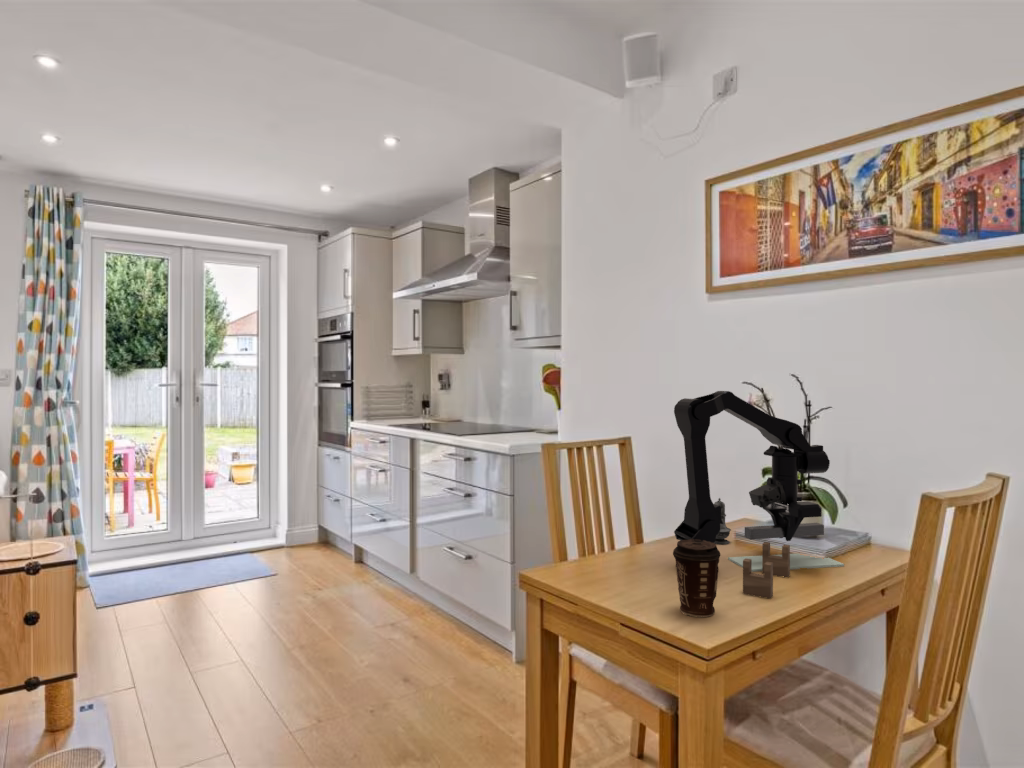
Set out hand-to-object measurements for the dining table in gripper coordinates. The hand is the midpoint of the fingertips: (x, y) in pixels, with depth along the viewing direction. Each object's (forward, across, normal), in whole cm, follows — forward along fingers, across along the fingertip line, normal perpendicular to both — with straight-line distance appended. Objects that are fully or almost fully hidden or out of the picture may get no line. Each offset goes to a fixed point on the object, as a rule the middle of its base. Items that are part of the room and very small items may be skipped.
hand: (784, 539), depth 150 cm
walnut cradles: (+6, +13, -14) cm, 19 cm away
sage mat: (+6, 0, 0) cm, 6 cm away
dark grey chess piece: (+6, -21, -4) cm, 22 cm away
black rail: (-1, 0, 0) cm, 1 cm away
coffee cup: (+6, +23, -36) cm, 44 cm away
